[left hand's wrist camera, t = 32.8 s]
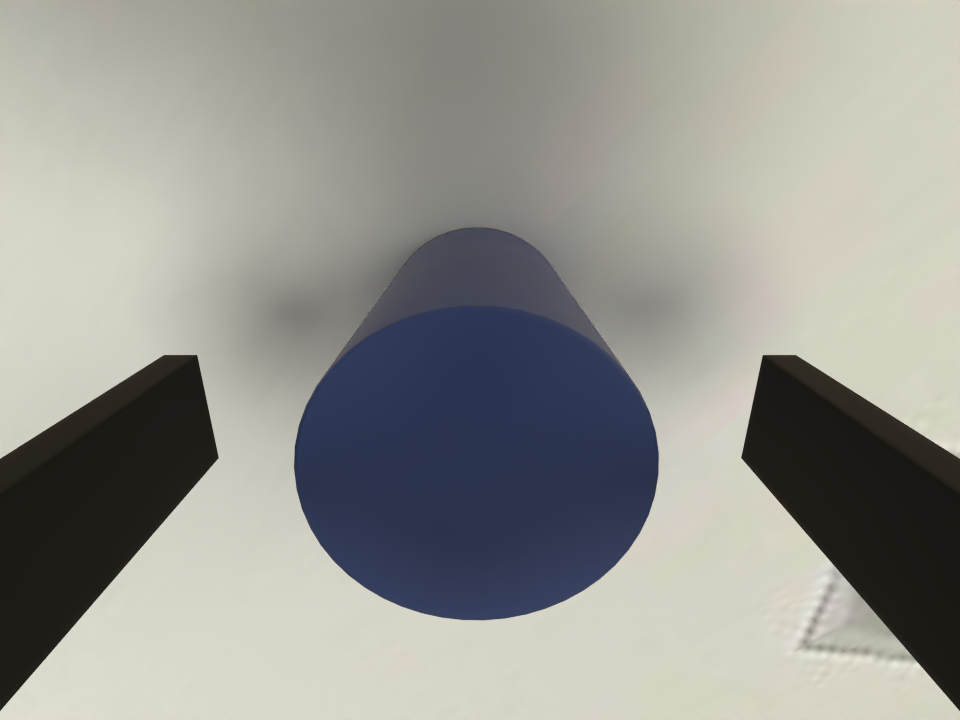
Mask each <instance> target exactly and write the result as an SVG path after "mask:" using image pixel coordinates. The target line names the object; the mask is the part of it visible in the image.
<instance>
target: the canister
mask: <svg viewBox="0 0 960 720" xmlns="http://www.w3.org/2000/svg"><path fill="white" fill-rule="evenodd" d="M658 462H659V452H658V445H657V438H656V432H655V429H654V425H653V422H652V419H651V415H650V412H649V410H648V408H647V406H646V404H645V402H644V400H643V397H642V395H641V393H640V391H639V390H638V388H637V387H636V386H635V384H634V383H633V381H632V380H631V378H630V377H629V375H628V374H627V372H626V371H625V370H624V368H623V367H622V365H621V364H620V363H619V361H618V360H617V358H616V357H615V355H614V354H613V353H612V351H611V350H610V348H609V347H608V346H607V344H606V343H605V341H604V340H603V339H602V337H601V336H600V334H599V333H598V331H597V330H596V329H595V327H594V326H593V324H592V323H591V322H590V320H589V319H588V317H587V316H586V314H585V313H584V312H583V310H582V309H581V307H580V306H579V305H578V303H577V302H576V300H575V299H574V298H573V296H572V295H571V293H570V292H569V290H568V289H567V288H566V286H565V285H564V283H563V282H562V281H561V279H560V278H559V276H558V275H557V274H556V272H555V271H554V269H553V268H552V266H551V265H550V264H549V262H548V261H547V260H546V259H545V258H544V257H543V255H542V254H541V253H540V252H539V251H537V250H536V249H535V248H534V247H533V246H531V245H530V244H529V243H527V242H525V241H524V240H522V239H521V238H518V237H516V236H514V235H512V234H510V233H506V232H503V231H500V230H495V229H489V228H466V229H459V230H455V231H451V232H448V233H445V234H443V235H440V236H438V237H436V238H434V239H432V240H431V241H429V242H427V243H426V244H425V245H423V246H422V247H421V248H419V249H418V250H417V251H416V252H415V253H414V254H413V255H412V256H411V257H410V258H409V259H408V260H407V262H406V263H405V264H404V266H403V267H402V268H401V270H400V271H399V273H398V274H397V275H396V277H395V278H394V280H393V281H392V282H391V284H390V285H389V286H388V288H387V289H386V291H385V292H384V293H383V295H382V296H381V298H380V299H379V300H378V302H377V303H376V304H375V306H374V307H373V309H372V310H371V311H370V313H369V314H368V316H367V317H366V318H365V320H364V321H363V323H362V324H361V325H360V327H359V328H358V329H357V331H356V332H355V334H354V335H353V336H352V338H351V339H350V341H349V342H348V343H347V345H346V346H345V347H344V349H343V350H342V352H341V353H340V354H339V356H338V357H337V359H336V360H335V361H334V363H333V364H332V365H331V367H330V368H329V370H328V371H327V372H326V374H325V375H324V377H323V378H322V379H321V381H320V382H319V383H318V385H317V387H316V388H315V390H314V392H313V394H312V396H311V398H310V399H309V401H308V403H307V405H306V407H305V410H304V413H303V416H302V419H301V421H300V424H299V428H298V433H297V438H296V444H295V458H294V470H295V479H296V487H297V492H298V496H299V499H300V503H301V507H302V510H303V512H304V514H305V517H306V519H307V521H308V524H309V526H310V528H311V530H312V531H313V533H314V535H315V536H316V538H317V540H318V541H319V543H320V545H321V546H322V547H323V548H324V550H325V551H326V552H327V553H328V555H329V556H330V557H331V558H332V559H333V561H334V562H335V563H336V564H337V565H338V566H340V567H341V568H342V569H343V570H344V571H345V572H346V573H347V574H348V575H349V576H350V577H352V578H353V579H354V580H356V581H357V582H358V583H360V584H361V585H362V586H364V587H365V588H367V589H368V590H370V591H372V592H373V593H375V594H377V595H379V596H380V597H382V598H384V599H386V600H388V601H391V602H393V603H395V604H397V605H399V606H402V607H405V608H408V609H411V610H414V611H417V612H420V613H424V614H428V615H433V616H438V617H442V618H451V619H460V620H492V619H503V618H510V617H515V616H520V615H526V614H529V613H532V612H536V611H539V610H542V609H546V608H548V607H551V606H553V605H555V604H558V603H560V602H563V601H565V600H567V599H569V598H571V597H572V596H574V595H576V594H578V593H580V592H582V591H583V590H585V589H586V588H588V587H589V586H590V585H592V584H593V583H595V582H596V581H598V580H599V579H600V578H601V577H602V576H604V575H605V574H606V573H607V572H608V571H609V570H610V569H611V568H613V567H614V566H615V565H616V564H617V562H618V561H619V560H620V559H621V558H622V557H623V556H624V554H625V553H626V552H627V551H628V550H629V548H630V547H631V545H632V544H633V542H634V541H635V539H636V538H637V536H638V535H639V533H640V531H641V529H642V527H643V525H644V523H645V521H646V519H647V517H648V515H649V512H650V509H651V506H652V503H653V500H654V496H655V491H656V485H657V479H658Z"/></svg>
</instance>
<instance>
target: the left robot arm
mask: <svg viewBox="0 0 960 720" xmlns="http://www.w3.org/2000/svg"><path fill="white" fill-rule="evenodd" d="M218 458H219V457H218V453H217V448H216V443H215V438H214V433H213V429H212V424H211V419H210V414H209V410H208V405H207V400H206V395H205V391H204V386H203V381H202V376H201V371H200V367H199V362H198V357H197V355H164V356H162V357H160V358H159V359H157V360H156V361H154V362H153V363H151V364H149V365H148V366H146V367H145V368H143V369H142V370H140V371H138V372H137V373H135V374H134V375H132V376H130V377H129V378H127V379H126V380H124V381H123V382H121V383H119V384H118V385H116V386H115V387H113V388H111V389H110V390H108V391H107V392H105V393H104V394H102V395H100V396H99V397H97V398H96V399H94V400H93V401H91V402H89V403H88V404H86V405H85V406H83V407H81V408H80V409H78V410H77V411H75V412H74V413H72V414H70V415H69V416H67V417H66V418H64V419H63V420H61V421H59V422H58V423H56V424H55V425H53V426H51V427H50V428H48V429H47V430H45V431H44V432H42V433H40V434H39V435H37V436H36V437H34V438H32V439H31V440H29V441H28V442H26V443H25V444H23V445H21V446H20V447H18V448H17V449H15V450H14V451H12V452H10V453H9V454H7V455H6V456H4V457H2V458H1V459H0V711H1V709H2V708H3V707H4V706H5V705H6V704H7V702H8V701H9V700H10V699H11V698H12V697H13V695H14V694H15V693H16V692H17V691H18V690H19V689H20V687H21V686H22V685H23V684H24V683H25V682H26V680H27V679H28V678H29V677H30V676H31V675H32V673H33V672H34V671H35V670H36V669H37V668H38V667H39V665H40V664H41V663H42V662H43V661H44V660H45V658H46V657H47V656H48V655H49V654H50V653H51V651H52V650H53V649H54V648H55V647H56V646H57V645H58V643H59V642H60V641H61V640H62V639H63V638H64V636H65V635H66V634H67V633H68V632H69V631H70V629H71V628H72V627H73V626H74V625H75V624H76V623H77V621H78V620H79V619H80V618H81V617H82V616H83V614H84V613H85V612H86V611H87V610H88V609H89V607H90V606H91V605H92V604H93V603H94V602H95V601H96V599H97V598H98V597H99V596H100V595H101V594H102V592H103V591H104V590H105V589H106V588H107V587H108V585H109V584H110V583H111V582H112V581H113V580H114V578H115V577H116V576H117V575H118V574H119V573H120V572H121V570H122V569H123V568H124V567H125V566H126V565H127V563H128V562H129V561H130V560H131V559H132V558H133V556H134V555H135V554H136V553H137V552H138V551H139V550H140V548H141V547H142V546H143V545H144V544H145V543H146V541H147V540H148V539H149V538H150V537H151V536H152V534H153V533H154V532H155V531H156V530H157V529H158V528H159V526H160V525H161V524H162V523H163V522H164V521H165V519H166V518H167V517H168V516H169V515H170V514H171V512H172V511H173V510H174V509H175V508H176V507H177V506H178V504H179V503H180V502H181V501H182V500H183V499H184V497H185V496H186V495H187V494H188V493H189V492H190V490H191V489H192V488H193V487H194V486H195V485H196V484H197V482H198V481H199V480H200V479H201V478H202V477H203V475H204V474H205V473H206V472H207V471H208V470H209V468H210V467H211V466H212V465H213V464H214V463H215V462H216V460H217V459H218ZM741 458H742V459H743V460H744V462H745V463H746V464H747V465H748V466H749V467H750V468H751V470H752V471H753V472H754V473H755V474H756V475H757V477H758V478H759V479H760V480H761V481H762V482H763V484H764V485H765V486H766V487H767V488H768V489H769V490H770V492H771V493H772V494H773V495H774V496H775V497H776V499H777V500H778V501H779V502H780V503H781V504H782V506H783V507H784V508H785V509H786V510H787V511H788V512H789V514H790V515H791V516H792V517H793V518H794V519H795V521H796V522H797V523H798V524H799V525H800V526H801V528H802V529H803V530H804V531H805V532H806V533H807V534H808V536H809V537H810V538H811V539H812V540H813V541H814V543H815V544H816V545H817V546H818V547H819V548H820V550H821V551H822V552H823V553H824V554H825V555H826V556H827V558H828V559H829V560H830V561H831V562H832V563H833V565H834V566H835V567H836V568H837V569H838V570H839V572H840V573H841V574H842V575H843V576H844V577H845V579H846V580H847V581H848V582H849V583H850V584H851V585H852V587H853V588H854V589H855V590H856V591H857V592H858V594H859V595H860V596H861V597H862V598H863V599H864V601H865V602H866V603H867V604H868V605H869V606H870V607H871V609H872V610H873V611H874V612H875V613H876V614H877V616H878V617H879V618H880V619H881V620H882V621H883V623H884V624H885V625H886V626H887V627H888V628H889V629H890V631H891V632H892V633H893V634H894V635H895V636H896V638H897V639H898V640H899V641H900V642H901V643H902V645H903V646H904V647H905V648H906V649H907V650H908V651H909V653H910V654H911V655H912V656H913V657H914V658H915V660H916V661H917V662H918V663H919V664H920V665H921V667H922V668H923V669H924V670H925V671H926V672H927V673H928V675H929V676H930V677H931V678H932V679H933V680H934V682H935V683H936V684H937V685H938V686H939V687H940V689H941V690H942V691H943V692H944V693H945V694H946V695H947V697H948V698H949V699H950V700H951V701H952V702H953V704H954V705H955V706H956V707H957V708H958V709H959V711H960V459H959V458H958V457H956V456H954V455H953V454H951V453H950V452H948V451H946V450H945V449H943V448H942V447H940V446H939V445H937V444H935V443H934V442H932V441H931V440H929V439H928V438H926V437H924V436H923V435H921V434H920V433H918V432H916V431H915V430H913V429H912V428H910V427H909V426H907V425H905V424H904V423H902V422H901V421H899V420H897V419H896V418H894V417H893V416H891V415H890V414H888V413H886V412H885V411H883V410H882V409H880V408H879V407H877V406H875V405H874V404H872V403H871V402H869V401H867V400H866V399H864V398H863V397H861V396H860V395H858V394H856V393H855V392H853V391H852V390H850V389H848V388H847V387H845V386H844V385H842V384H841V383H839V382H837V381H836V380H834V379H833V378H831V377H830V376H828V375H826V374H825V373H823V372H822V371H820V370H818V369H817V368H815V367H814V366H812V365H811V364H809V363H807V362H806V361H804V360H803V359H801V358H800V357H798V356H796V355H763V357H762V362H761V367H760V371H759V376H758V381H757V386H756V391H755V395H754V400H753V405H752V410H751V414H750V419H749V424H748V429H747V433H746V438H745V443H744V448H743V453H742V457H741Z"/></svg>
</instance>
